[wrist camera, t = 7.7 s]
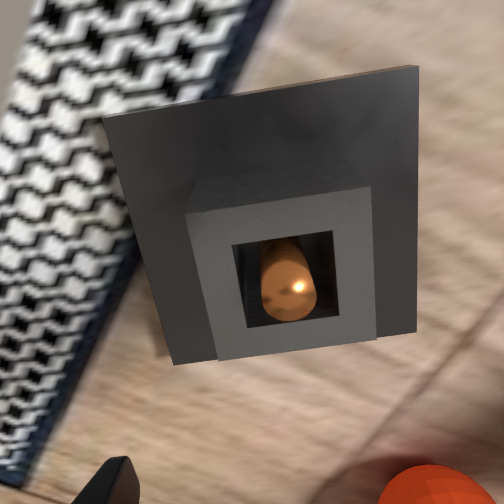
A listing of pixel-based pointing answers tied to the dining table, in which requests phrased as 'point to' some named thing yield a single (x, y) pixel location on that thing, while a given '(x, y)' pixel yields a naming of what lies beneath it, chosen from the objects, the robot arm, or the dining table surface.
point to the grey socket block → (268, 157)
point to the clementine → (433, 487)
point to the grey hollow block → (277, 226)
